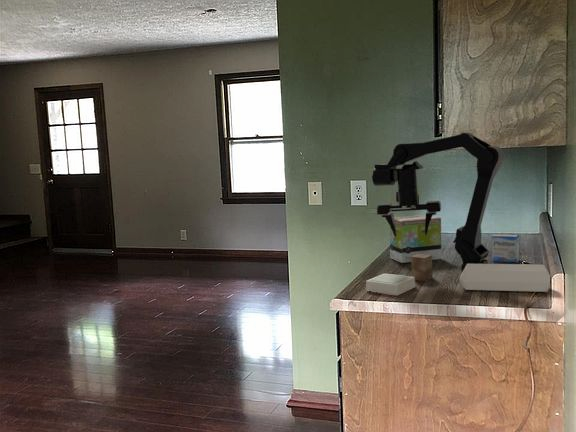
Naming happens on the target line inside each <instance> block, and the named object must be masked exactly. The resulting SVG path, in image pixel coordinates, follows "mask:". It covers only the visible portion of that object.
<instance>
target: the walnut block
mask: <svg viewBox="0 0 576 432" xmlns="http://www.w3.org/2000/svg"><path fill="white" fill-rule="evenodd" d="M410 263H411V267H410V269H411V277H415V281H422V282H427V281H429V280H431V279H433V260H432V255H425V254H417V255H414V256H412V257H411V262H410Z"/></svg>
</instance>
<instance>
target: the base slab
mask: <svg viewBox="0 0 576 432" xmlns="http://www.w3.org/2000/svg"><path fill="white" fill-rule="evenodd" d="M365 286H366V287H365V289H366V292H369V291H371V292H370V293H376V292H377V294H378V293H379V294H384V295H390V296H391V295H392V296H397V297H398V296H400V295H401V294H403V293H406V292H408V291H410V290H412V289H414V288H416V280H415V277H412V275H411V276H409V275H401V274H391V273H382V274H379V275H377V276H375V277H372V278H370V279H367V280H366V281H365Z"/></svg>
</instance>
